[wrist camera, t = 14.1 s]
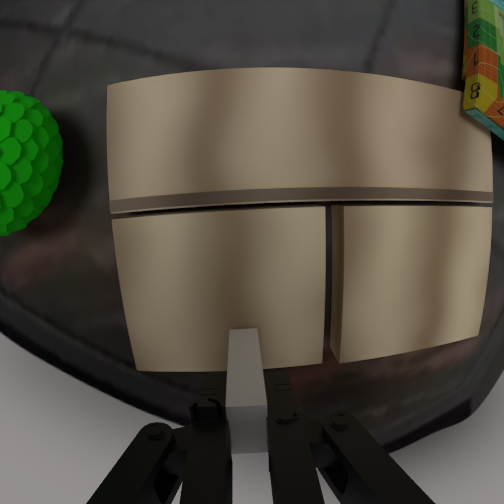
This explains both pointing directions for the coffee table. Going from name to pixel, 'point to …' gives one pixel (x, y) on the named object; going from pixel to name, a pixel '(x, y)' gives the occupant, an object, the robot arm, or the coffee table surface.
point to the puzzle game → (484, 63)
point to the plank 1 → (223, 284)
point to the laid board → (290, 140)
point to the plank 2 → (406, 277)
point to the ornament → (26, 159)
